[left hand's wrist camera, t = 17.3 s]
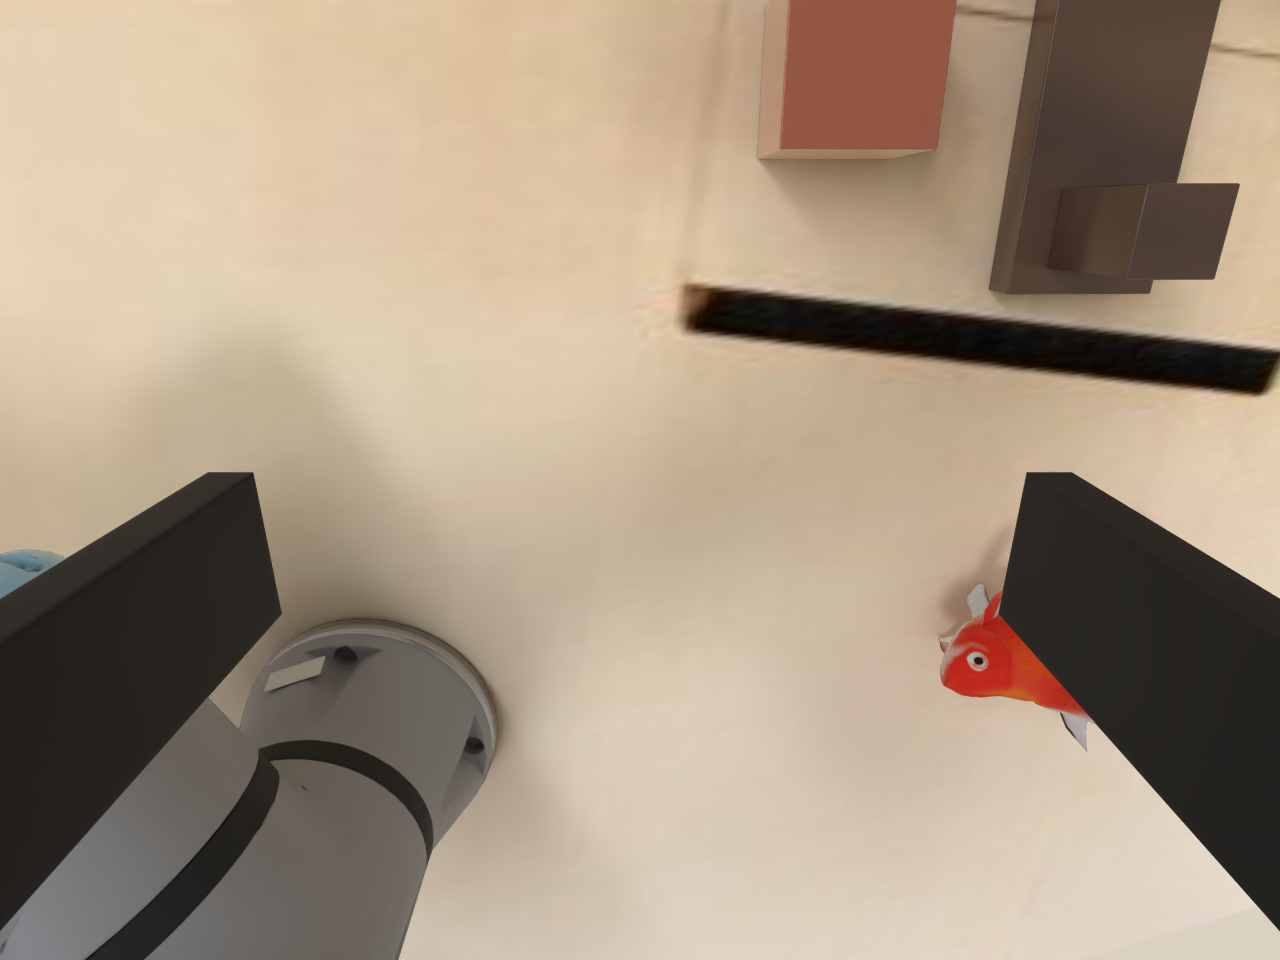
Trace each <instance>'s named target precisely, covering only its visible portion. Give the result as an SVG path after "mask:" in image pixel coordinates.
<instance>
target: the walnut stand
mask: <svg viewBox="0 0 1280 960" xmlns="http://www.w3.org/2000/svg"><path fill="white" fill-rule="evenodd" d="M1220 2H1221V0H1037V1H1036V7H1035V13H1034V19H1033V25H1032V31H1031V37H1030V43H1029V49H1028V56H1027V62H1026V68H1025V74H1024V80H1023V86H1022V92H1021V98H1020V104H1019V110H1018V116H1017V122H1016V128H1015V134H1014V141H1013V147H1012V153H1011V159H1010V165H1009V171H1008V177H1007V183H1006V189H1005V195H1004V201H1003V207H1002V213H1001V219H1000V225H999V232H998V238H997V244H996V250H995V256H994V262H993V268H992V274H991V280H990V286H989V290H992V291H997V292H1001V293H1005V294H1149V293H1150V291H1151V287H1152V283H1153V280H1212V279H1214V278H1215V275H1216V271H1217V267H1218V264H1219V260H1220V256H1221V253H1222V249H1223V245H1224V242H1225V238H1226V234H1227V231H1228V227H1229V223H1230V219H1231V216H1232V212H1233V208H1234V205H1235V201H1236V197H1237V194H1238V190H1239V186H1240V184H1238V183H1177V180H1178V175H1179V171H1180V167H1181V163H1182V159H1183V155H1184V151H1185V146H1186V142H1187V138H1188V134H1189V130H1190V126H1191V122H1192V118H1193V113H1194V109H1195V105H1196V101H1197V97H1198V93H1199V89H1200V84H1201V80H1202V76H1203V72H1204V68H1205V64H1206V60H1207V56H1208V51H1209V47H1210V43H1211V39H1212V35H1213V31H1214V27H1215V22H1216V18H1217V14H1218V10H1219V6H1220Z"/></svg>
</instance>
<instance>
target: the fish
mask: <svg viewBox="0 0 1280 960" xmlns="http://www.w3.org/2000/svg"><path fill="white" fill-rule="evenodd" d="M1002 593H1003V591H1002V592H1000V593H998V594H997V595H995V596H994V597H993V598H992V599H991V601H990V602H989V600H988V597H987V594H986V590H985V586H984V585H983V584H978V585H977V586H976V587H975V588H974V589H973V590H972V592H971V593H970V594H969V596H968V598H967V604H968V606H969V608H970V610H971V614H972V617H971V620H969V621H968V622H966V623H964V624H963V625H962V626H961V627H960V628H959V629H958V631H957V632H956V633H955V635H954V636H953V638H952V640H951V642H950V643H945V642H940V646H941V649H942V651H943V653H945V654H944V657H943V660H942V663H941V667H940V676H941V680H942V683H943V685H944V686H945V687H947V688H949V689H951V690H953V691H955V692H956V693H958V694H960V695H964V696H970V697H990V696H1003V697H1009V698H1014V699H1018V700H1023V701H1033V702H1035V703H1036V704H1038V705H1040V706H1043V707H1045V708H1048V709H1051V710H1054V711H1057V712H1060V714H1061V717H1062V719H1063V722H1064V724H1065V727H1066V728H1067V729H1068V731H1069V732H1070V733H1071V734H1072V735H1073V736H1074V738H1075V739H1076V740H1077V741H1078V742H1079V743H1080V745H1081V746H1082V747H1083V748H1084V749H1085V750H1086V752H1087V745H1086V722H1087V721H1088V722H1091V723H1095V722H1094V721H1093V720H1092V719H1091V718H1090V717H1089V716H1088V714H1087V713H1086V712H1085V711H1084V710H1083V709H1082V708H1081V707H1080V705H1079V704H1078V703H1077V702H1076V701H1075V700H1074V699H1073V698H1072V696H1071V695H1070V694H1069V693H1068V692H1067V691H1066V690H1065V689H1064V687H1063V686H1062V685H1061V684H1060V683H1059V682H1058V681H1057V680H1056V678H1055V677H1054V676H1053V675H1052V674H1051V673H1050V672H1049V670H1048V669H1047V668H1046V667H1045V666H1044V665H1043V664H1042V663H1041V661H1040V660H1039V659H1038V658H1037V657H1036V656H1035V655H1034V654H1033V652H1032V651H1031V650H1030V649H1029V648H1028V647H1027V646H1026V645H1025V643H1024V642H1023V641H1022V640H1021V639H1020V638H1019V637H1018V636H1017V634H1016V633H1015V632H1014V631H1013V630H1012V629H1011V628H1010V627H1009V625H1008V624H1007V623H1006V622H1005V621H1004V620H1003V619H1002V618H1001V616H1000V615H999V614H998V613H999V608H1000V603H1001V598H1002ZM938 639H939V638H938ZM939 641H940V640H939Z"/></svg>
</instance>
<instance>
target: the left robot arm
mask: <svg viewBox="0 0 1280 960" xmlns="http://www.w3.org/2000/svg"><path fill="white" fill-rule="evenodd" d="M281 614H282V613H281V608H280V603H279V598H278V593H277V588H276V583H275V578H274V573H273V568H272V563H271V558H270V553H269V548H268V543H267V538H266V533H265V528H264V523H263V518H262V513H261V508H260V503H259V498H258V493H257V488H256V484H255V479H254V474H253V472H208V473H206V474H205V475H203V476H201V477H200V478H198V479H196V480H195V481H193V482H192V483H190V484H188V485H187V486H185V487H183V488H182V489H180V490H178V491H177V492H175V493H173V494H172V495H170V496H168V497H167V498H165V499H164V500H162V501H160V502H159V503H157V504H155V505H154V506H152V507H150V508H149V509H147V510H145V511H144V512H142V513H140V514H139V515H137V516H136V517H134V518H132V519H131V520H129V521H127V522H126V523H124V524H122V525H121V526H119V527H117V528H116V529H114V530H112V531H111V532H109V533H108V534H106V535H104V536H103V537H101V538H99V539H98V540H96V541H94V542H93V543H91V544H89V545H88V546H86V547H84V548H83V549H81V550H80V551H78V552H76V553H75V554H73V555H71V556H70V557H68V558H64V557H63V556H60V555H58V554H55V553H51V552H47V551H41V550H17V551H10V552H5V553H1V554H0V960H398V959H399V956H400V953H401V949H402V946H403V943H404V940H405V936H406V933H407V930H408V927H409V923H410V920H411V917H412V914H413V910H414V907H415V904H416V901H417V897H418V894H419V891H420V888H421V884H422V881H423V878H424V874H425V871H426V868H427V865H428V861H429V858H430V855H431V853H432V850H433V849H434V847H435V846H436V845H437V844H438V842H439V841H440V840H441V839H442V837H443V836H444V835H445V833H446V832H447V831H448V830H449V828H450V827H451V826H452V825H453V823H454V822H455V821H456V819H457V818H458V817H459V816H460V814H461V813H462V812H463V811H464V809H465V808H466V807H467V806H468V804H469V803H470V802H471V800H472V799H473V798H474V796H475V795H476V794H477V792H478V790H479V788H480V787H481V785H482V783H483V782H484V780H485V778H486V775H487V773H488V771H489V767H490V764H491V760H492V757H493V753H494V749H495V745H496V740H497V717H496V712H495V708H494V704H493V701H492V698H491V696H490V694H489V692H488V689H487V688H486V686H485V684H484V682H483V681H482V679H481V678H480V676H479V675H478V674H477V672H476V671H475V670H474V669H473V667H472V666H471V665H470V664H469V663H468V662H467V661H466V660H465V659H464V658H463V657H462V656H461V655H460V654H458V653H457V652H456V651H455V650H453V649H452V648H451V647H449V646H448V645H446V644H445V643H443V642H442V641H440V640H438V639H436V638H435V637H433V636H431V635H429V634H427V633H424V632H422V631H420V630H417V629H415V628H412V627H409V626H406V625H402V624H398V623H394V622H389V621H383V620H373V619H352V620H343V621H337V622H332V623H328V624H324V625H321V626H318V627H315V628H313V629H310V630H308V631H306V632H304V633H302V634H301V635H299V636H297V637H296V638H294V639H293V640H291V641H290V642H289V643H288V644H286V645H285V646H284V647H283V648H282V649H281V650H280V651H279V652H278V653H277V654H276V655H275V657H274V658H273V659H272V660H271V661H270V663H269V664H268V665H267V666H266V668H265V669H264V670H263V671H262V673H261V674H260V675H259V677H258V678H257V680H256V682H255V683H254V685H253V688H252V690H251V692H250V695H249V697H248V699H247V702H246V705H245V709H244V712H243V716H242V720H241V724H240V727H239V729H238V728H237V727H236V726H235V725H234V724H233V723H232V722H231V721H230V720H229V719H228V718H227V716H226V715H225V714H224V713H223V712H222V711H221V710H220V709H219V708H218V707H217V706H216V705H215V704H214V703H213V702H212V701H211V700H210V699H209V698H208V696H209V695H210V694H211V693H212V692H213V691H214V690H215V689H216V687H217V686H218V685H219V684H220V683H221V682H222V681H223V680H224V678H225V677H226V676H227V675H228V674H229V673H230V672H231V670H232V669H233V668H234V667H235V666H236V665H237V664H238V663H239V661H240V660H241V659H242V658H243V657H244V656H245V655H246V654H247V652H248V651H249V650H250V649H251V648H252V647H253V646H254V645H255V643H256V642H257V641H258V640H259V639H260V638H261V637H262V636H263V634H264V633H265V632H266V631H267V630H268V629H269V628H270V627H271V625H272V624H273V623H274V622H275V621H276V620H277V619H278V618H279V616H280V615H281ZM998 614H999V615H1000V616H1001V618H1002V619H1003V620H1004V621H1005V622H1006V623H1007V624H1008V625H1009V627H1010V628H1011V629H1012V630H1013V631H1014V632H1015V633H1016V634H1017V636H1018V637H1019V638H1020V639H1021V640H1022V641H1023V642H1024V643H1025V645H1026V646H1027V647H1028V648H1029V649H1030V650H1031V651H1032V652H1033V654H1034V655H1035V656H1036V657H1037V658H1038V659H1039V660H1040V661H1041V663H1042V664H1043V665H1044V666H1045V667H1046V668H1047V669H1048V670H1049V672H1050V673H1051V674H1052V675H1053V676H1054V677H1055V678H1056V680H1057V681H1058V682H1059V683H1060V684H1061V685H1062V686H1063V687H1064V689H1065V690H1066V691H1067V692H1068V693H1069V694H1070V695H1071V696H1072V698H1073V699H1074V700H1075V701H1076V702H1077V703H1078V704H1079V705H1080V707H1081V708H1082V709H1083V710H1084V711H1085V712H1086V713H1087V714H1088V716H1089V717H1090V718H1091V719H1092V720H1093V721H1094V722H1095V723H1096V725H1097V726H1098V727H1099V728H1100V729H1101V730H1102V731H1103V732H1104V734H1105V735H1106V736H1107V737H1108V738H1109V739H1110V740H1111V741H1112V743H1113V744H1114V745H1115V746H1116V747H1117V748H1118V749H1119V751H1120V752H1121V753H1122V754H1123V755H1124V756H1125V757H1126V758H1127V760H1128V761H1129V762H1130V763H1131V764H1132V765H1133V766H1134V767H1135V769H1136V770H1137V771H1138V772H1139V773H1140V774H1141V775H1142V776H1143V778H1144V779H1145V780H1146V781H1147V782H1148V783H1149V784H1150V785H1151V787H1152V788H1153V789H1154V790H1155V791H1156V792H1157V793H1158V794H1159V796H1160V797H1161V798H1162V799H1163V800H1164V801H1165V802H1166V803H1167V805H1168V806H1169V807H1170V808H1171V809H1172V810H1173V811H1174V812H1175V814H1176V815H1177V816H1178V817H1179V818H1180V819H1181V820H1182V822H1183V823H1184V824H1185V825H1186V826H1187V827H1188V828H1189V829H1190V831H1191V832H1192V833H1193V834H1194V835H1195V836H1196V837H1197V838H1198V840H1199V841H1200V842H1201V843H1202V844H1203V845H1204V846H1205V847H1206V849H1207V850H1208V851H1209V852H1210V853H1211V854H1212V855H1213V856H1214V858H1215V859H1216V860H1217V861H1218V862H1219V863H1220V864H1221V865H1222V867H1223V868H1224V869H1225V870H1226V871H1227V872H1228V873H1229V874H1230V876H1231V877H1232V878H1233V879H1234V880H1235V881H1236V882H1237V883H1238V885H1239V886H1240V887H1241V888H1242V889H1243V890H1244V891H1245V893H1246V894H1247V895H1248V896H1249V897H1250V898H1251V899H1252V900H1253V902H1254V903H1255V904H1256V905H1257V906H1258V907H1259V908H1260V909H1261V911H1262V912H1263V913H1264V914H1265V915H1266V916H1267V917H1268V918H1269V920H1270V921H1271V922H1272V923H1273V924H1274V925H1275V926H1276V927H1277V929H1278V930H1279V931H1280V598H1278V597H1276V596H1275V595H1273V594H1271V593H1270V592H1268V591H1266V590H1265V589H1263V588H1261V587H1260V586H1258V585H1256V584H1255V583H1253V582H1252V581H1250V580H1248V579H1247V578H1245V577H1243V576H1242V575H1240V574H1238V573H1237V572H1235V571H1233V570H1232V569H1230V568H1228V567H1227V566H1225V565H1224V564H1222V563H1220V562H1219V561H1217V560H1215V559H1214V558H1212V557H1210V556H1209V555H1207V554H1205V553H1204V552H1202V551H1200V550H1199V549H1197V548H1196V547H1194V546H1192V545H1191V544H1189V543H1187V542H1186V541H1184V540H1182V539H1181V538H1179V537H1177V536H1176V535H1174V534H1172V533H1171V532H1169V531H1168V530H1166V529H1164V528H1163V527H1161V526H1159V525H1158V524H1156V523H1154V522H1153V521H1151V520H1149V519H1148V518H1146V517H1144V516H1143V515H1141V514H1140V513H1138V512H1136V511H1135V510H1133V509H1131V508H1130V507H1128V506H1126V505H1125V504H1123V503H1121V502H1120V501H1118V500H1116V499H1115V498H1113V497H1112V496H1110V495H1108V494H1107V493H1105V492H1103V491H1102V490H1100V489H1098V488H1097V487H1095V486H1093V485H1092V484H1090V483H1088V482H1087V481H1085V480H1084V479H1082V478H1080V477H1079V476H1077V475H1075V474H1074V473H1072V472H1027V474H1026V479H1025V484H1024V488H1023V493H1022V498H1021V503H1020V508H1019V513H1018V518H1017V523H1016V528H1015V533H1014V538H1013V543H1012V548H1011V553H1010V558H1009V563H1008V568H1007V573H1006V578H1005V583H1004V588H1003V593H1002V598H1001V603H1000V608H999V613H998Z"/></svg>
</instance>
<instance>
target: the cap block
mask: <svg viewBox="0 0 1280 960" xmlns="http://www.w3.org/2000/svg"><path fill="white" fill-rule="evenodd" d="M955 8H956V0H768V2H767V3H766V5H765V21H764V39H763V58H762V77H761V96H760V114H759V133H758V152H757V158H758V159H891V158H896V157H901V156H906V155H910V154H915V153H920V152H925V151H930V150H935V149H936V148H937V143H938V135H939V128H940V120H941V113H942V105H943V98H944V90H945V83H946V75H947V68H948V60H949V53H950V45H951V38H952V30H953V23H954V15H955Z"/></svg>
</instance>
